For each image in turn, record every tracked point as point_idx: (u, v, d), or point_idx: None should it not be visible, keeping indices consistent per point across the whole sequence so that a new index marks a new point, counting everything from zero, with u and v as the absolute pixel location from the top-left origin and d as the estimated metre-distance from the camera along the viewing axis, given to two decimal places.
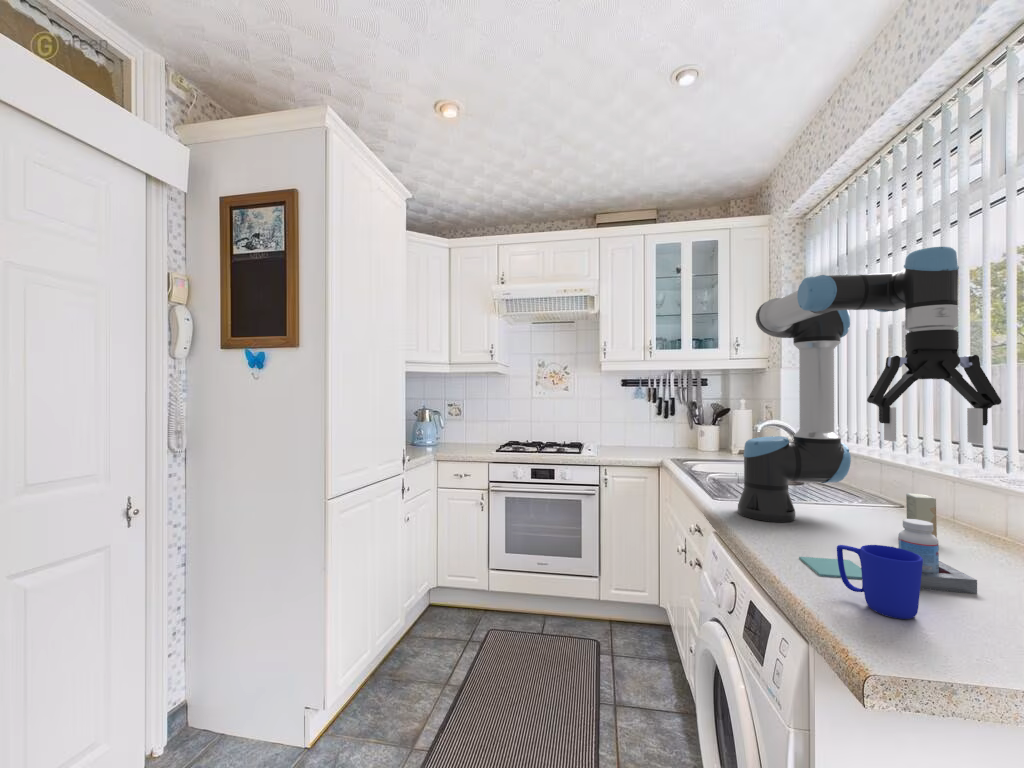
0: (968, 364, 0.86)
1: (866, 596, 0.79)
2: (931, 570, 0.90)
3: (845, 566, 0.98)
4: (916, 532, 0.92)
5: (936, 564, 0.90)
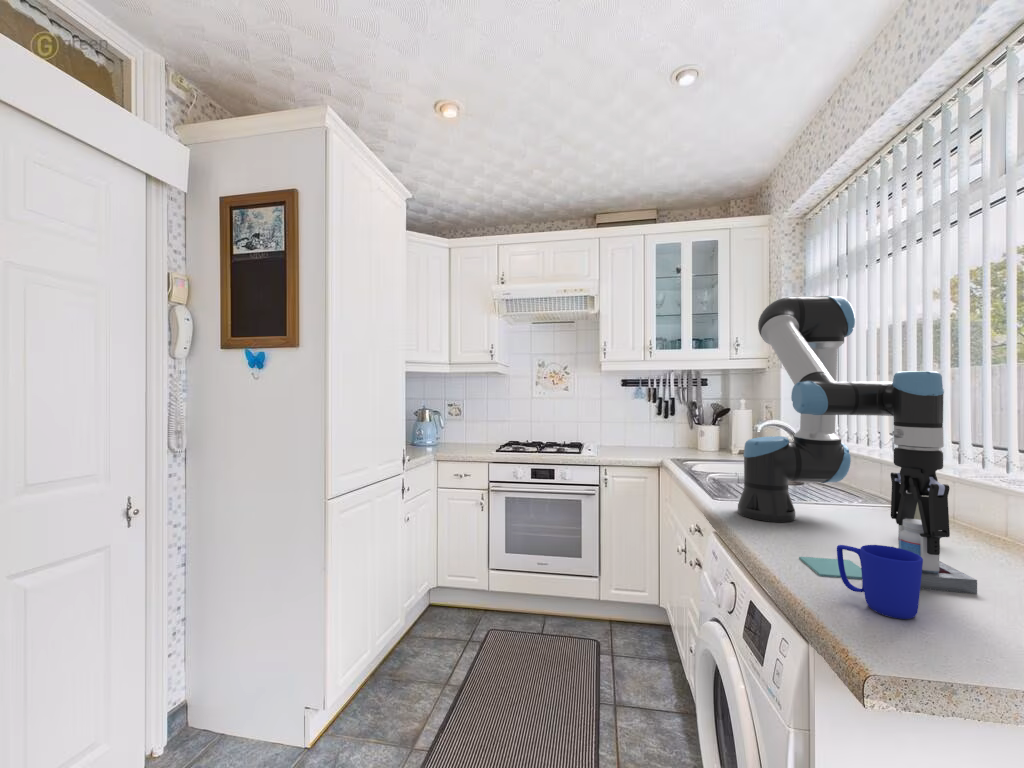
0: None
1: (866, 596, 0.79)
2: None
3: (845, 566, 0.98)
4: (916, 532, 0.92)
5: None
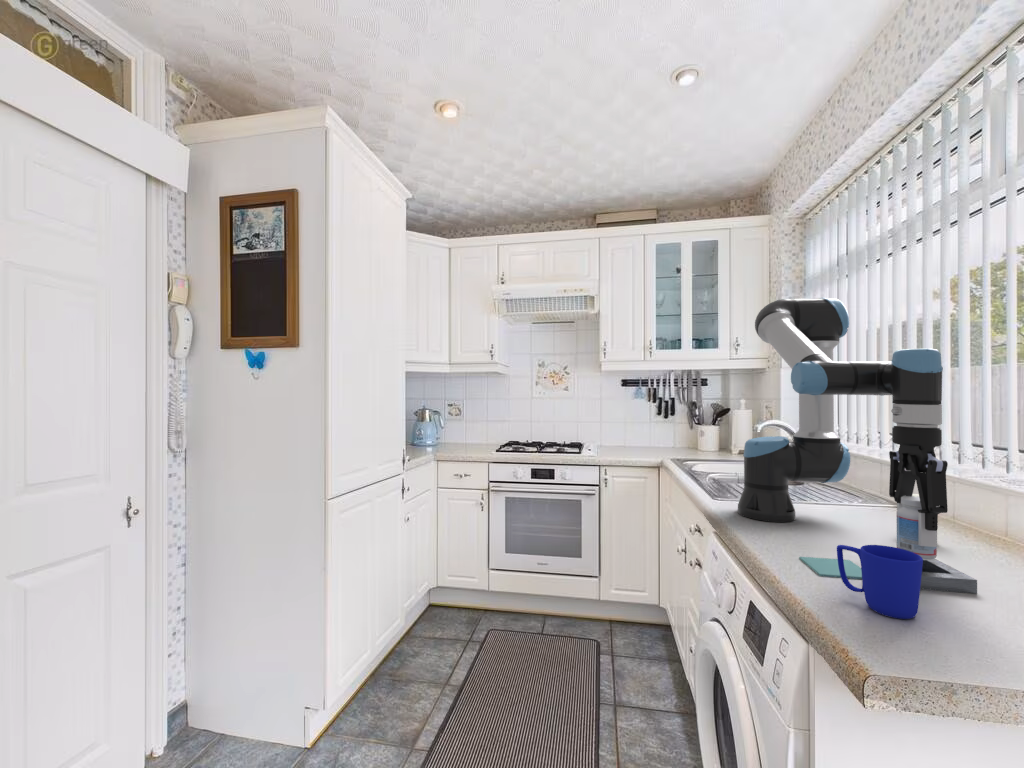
0: None
1: (866, 596, 0.79)
2: None
3: (845, 566, 0.98)
4: (914, 509, 0.92)
5: None
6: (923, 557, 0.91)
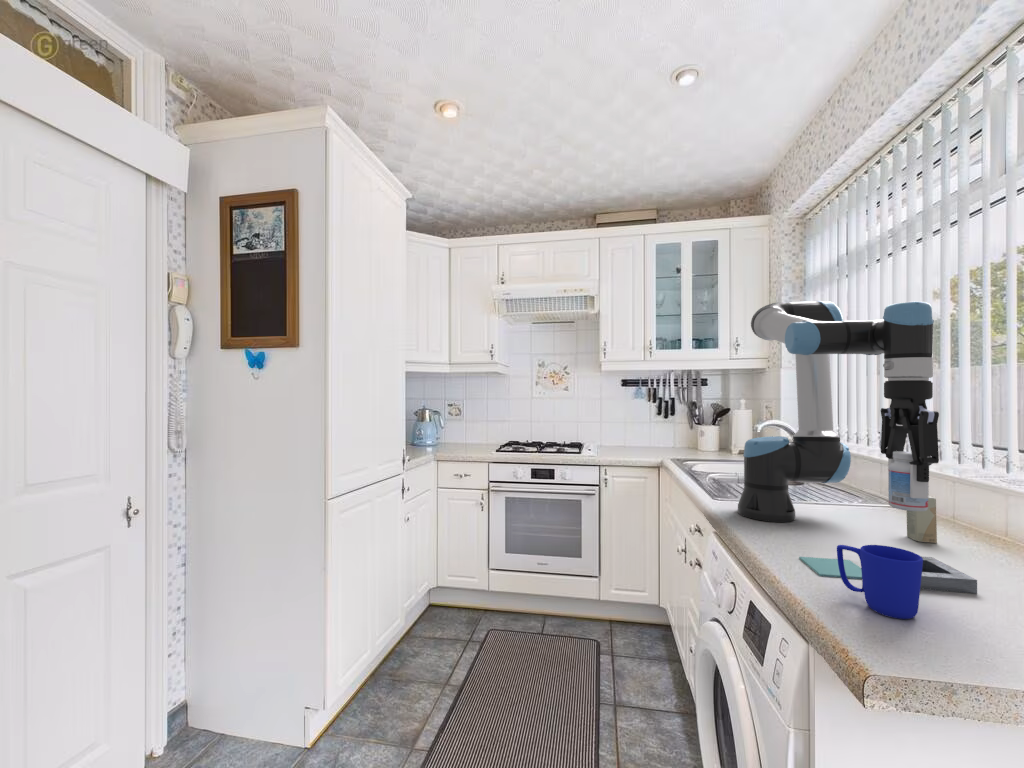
0: None
1: (866, 596, 0.79)
2: (921, 498, 0.91)
3: (845, 566, 0.98)
4: (906, 462, 0.92)
5: None
6: (915, 509, 0.91)
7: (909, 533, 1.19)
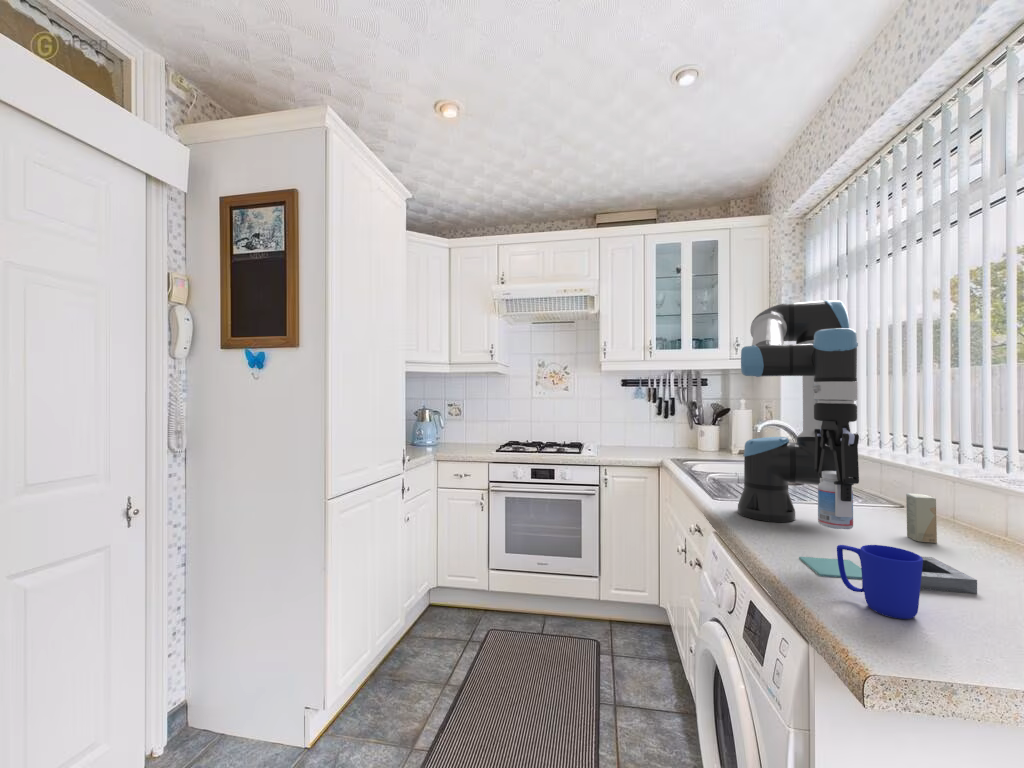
0: None
1: (866, 596, 0.79)
2: (845, 517, 0.94)
3: (845, 566, 0.98)
4: (832, 482, 0.96)
5: None
6: (839, 527, 0.95)
7: (909, 533, 1.19)
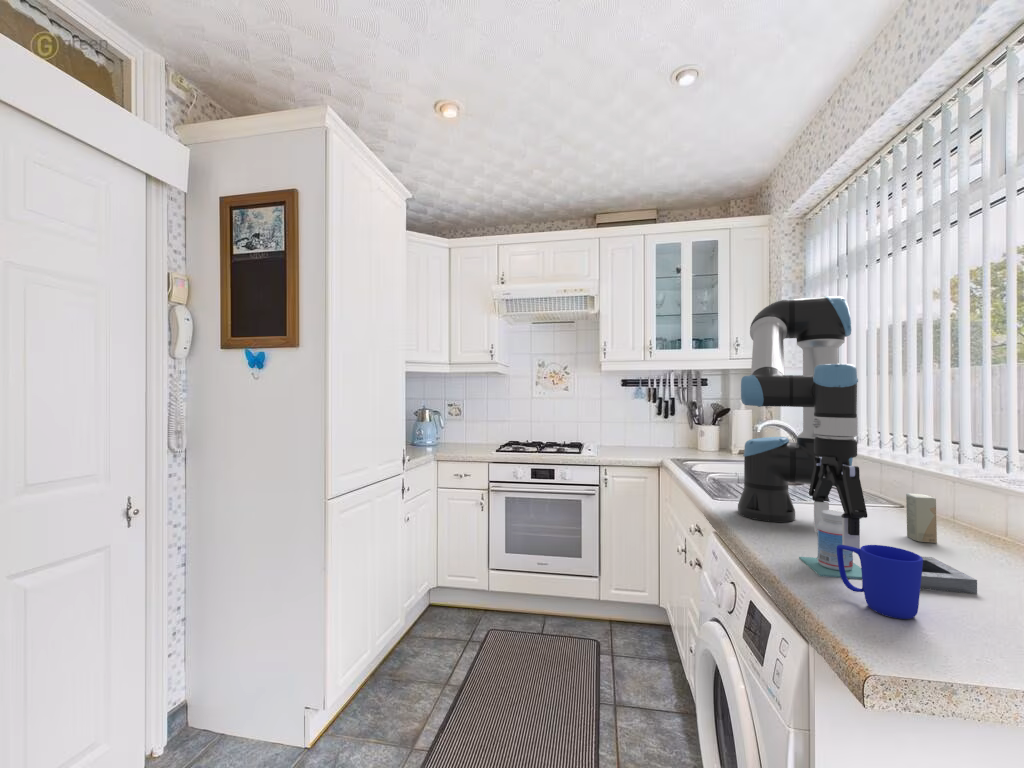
0: None
1: (866, 596, 0.79)
2: (845, 558, 0.95)
3: None
4: (832, 522, 0.96)
5: (849, 553, 0.95)
6: None
7: (909, 533, 1.19)
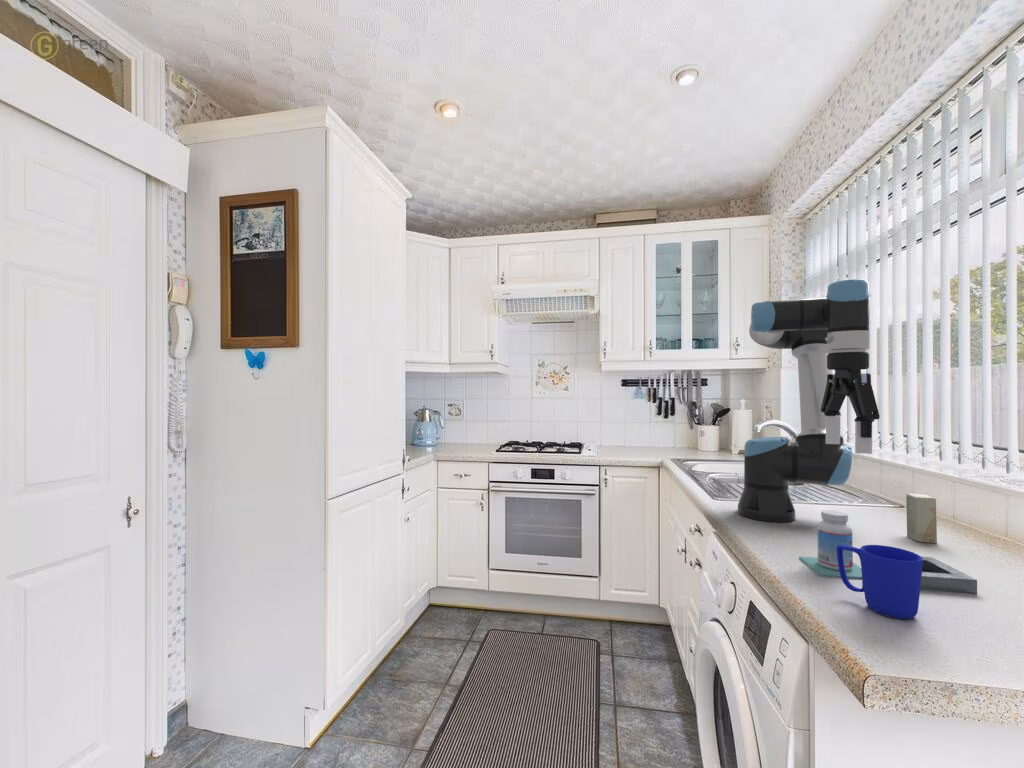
0: None
1: (866, 596, 0.79)
2: (845, 558, 0.95)
3: None
4: (831, 522, 0.96)
5: (849, 552, 0.95)
6: None
7: (909, 533, 1.19)
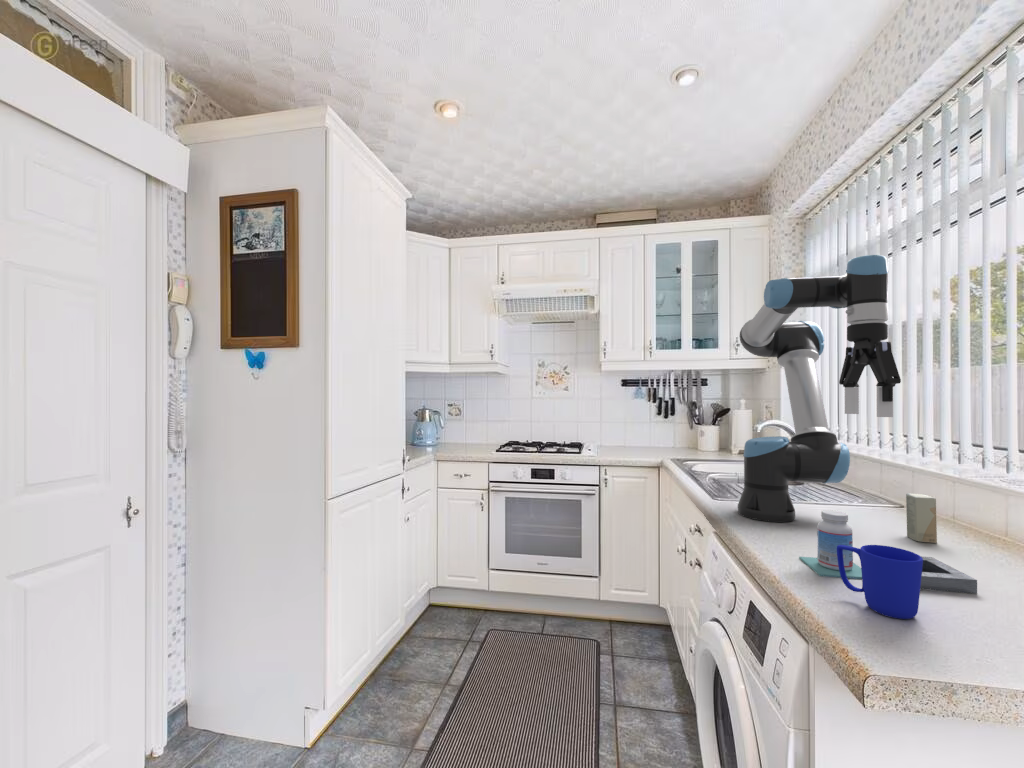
0: None
1: (866, 596, 0.79)
2: (845, 558, 0.95)
3: None
4: (831, 522, 0.96)
5: (849, 552, 0.95)
6: None
7: (909, 533, 1.19)
